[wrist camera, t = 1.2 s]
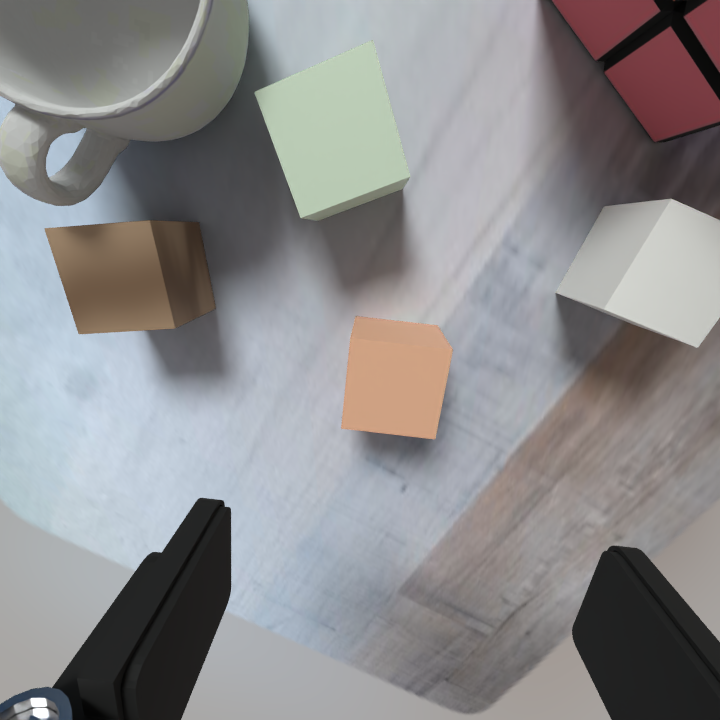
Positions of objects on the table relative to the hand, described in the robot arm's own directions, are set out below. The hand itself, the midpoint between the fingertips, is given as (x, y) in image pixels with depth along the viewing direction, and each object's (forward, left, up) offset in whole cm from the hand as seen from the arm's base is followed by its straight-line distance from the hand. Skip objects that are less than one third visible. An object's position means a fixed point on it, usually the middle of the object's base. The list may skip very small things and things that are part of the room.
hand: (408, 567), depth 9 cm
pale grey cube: (-7, +12, -15) cm, 21 cm away
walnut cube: (-4, -14, -15) cm, 21 cm away
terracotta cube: (0, 0, -15) cm, 15 cm away
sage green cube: (-11, -4, -15) cm, 19 cm away
